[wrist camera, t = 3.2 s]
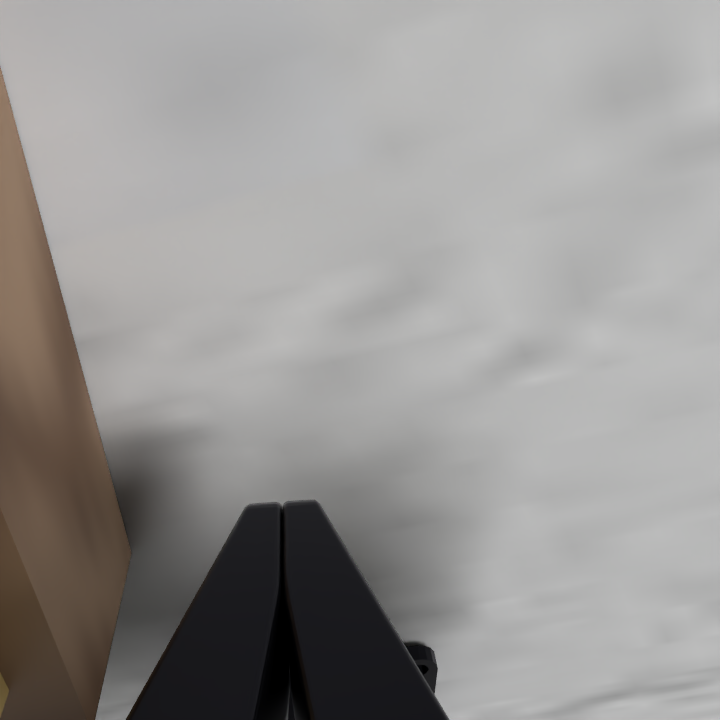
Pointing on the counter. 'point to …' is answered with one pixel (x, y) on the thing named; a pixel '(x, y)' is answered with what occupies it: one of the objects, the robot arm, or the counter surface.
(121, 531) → the brown box
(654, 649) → the counter surface
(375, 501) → the counter surface
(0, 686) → the pale yellow rectangular block
